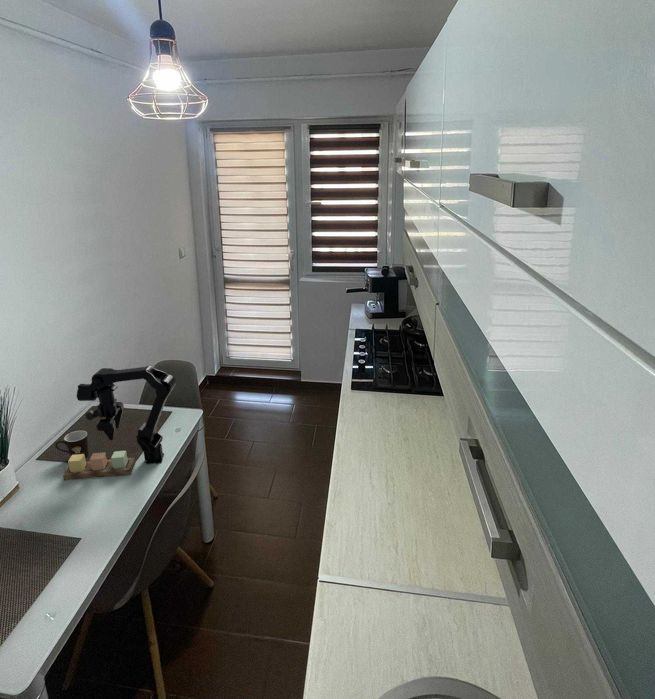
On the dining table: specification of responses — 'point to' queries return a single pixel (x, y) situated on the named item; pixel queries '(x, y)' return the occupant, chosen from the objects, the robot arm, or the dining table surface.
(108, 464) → the brown wooden board
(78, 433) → the coffee mug
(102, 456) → the terracotta cube
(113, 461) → the mint green cube
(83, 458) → the yellow cube
